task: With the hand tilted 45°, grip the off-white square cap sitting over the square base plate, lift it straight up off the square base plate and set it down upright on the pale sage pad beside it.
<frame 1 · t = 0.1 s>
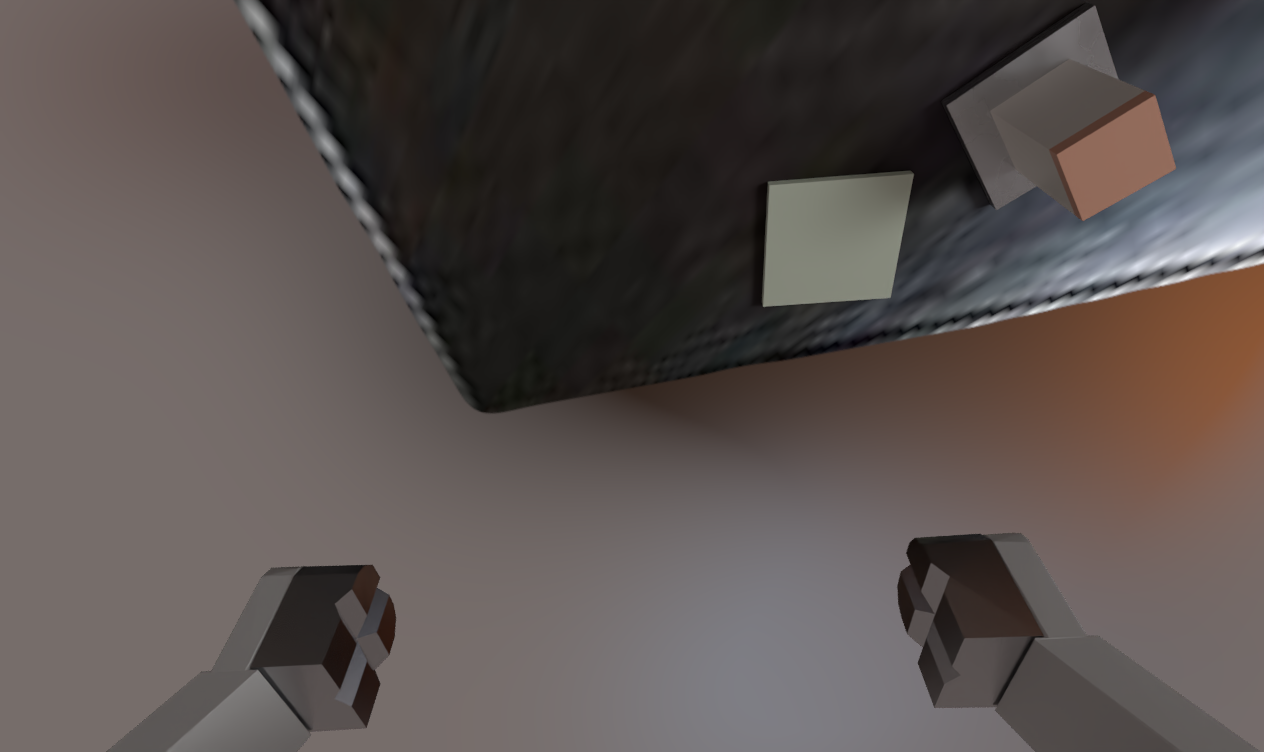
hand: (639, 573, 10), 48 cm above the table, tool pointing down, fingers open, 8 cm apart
square base plate: (1033, 112, 52), on the table
cap: (1041, 117, 51), point 1 cm above the table, touching square base plate
pad: (831, 240, 59), on the table
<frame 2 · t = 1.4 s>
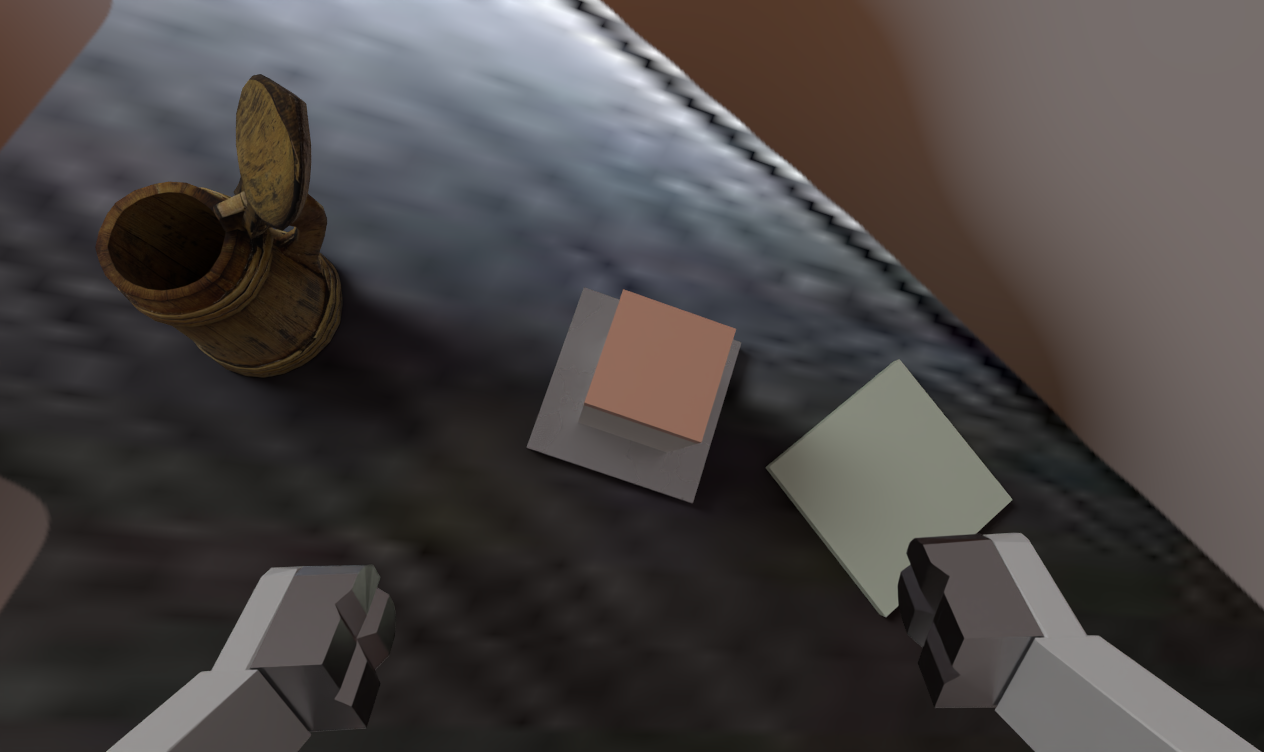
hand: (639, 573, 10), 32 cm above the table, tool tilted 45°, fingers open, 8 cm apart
square base plate: (635, 395, 43), on the table
cap: (637, 393, 42), point 1 cm above the table, touching square base plate
wooden mug: (306, 295, 42), on the table
pad: (886, 483, 44), on the table
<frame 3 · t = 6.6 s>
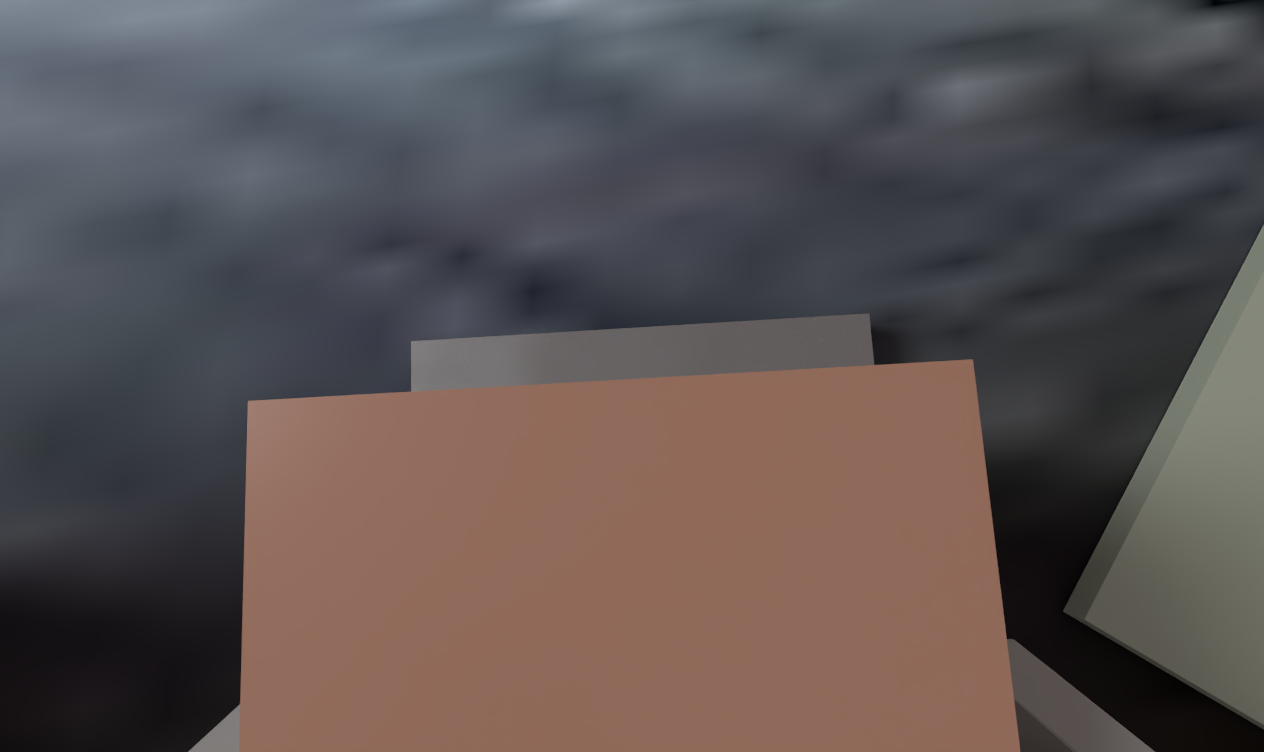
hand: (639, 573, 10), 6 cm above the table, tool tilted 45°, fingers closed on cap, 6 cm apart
square base plate: (650, 555, 16), on the table
cap: (649, 563, 15), point 1 cm above the table, touching gripper, square base plate
when the fingers open (7 cm above the table, at t = 16.3 s): cap drops 2 cm, resting on pad.
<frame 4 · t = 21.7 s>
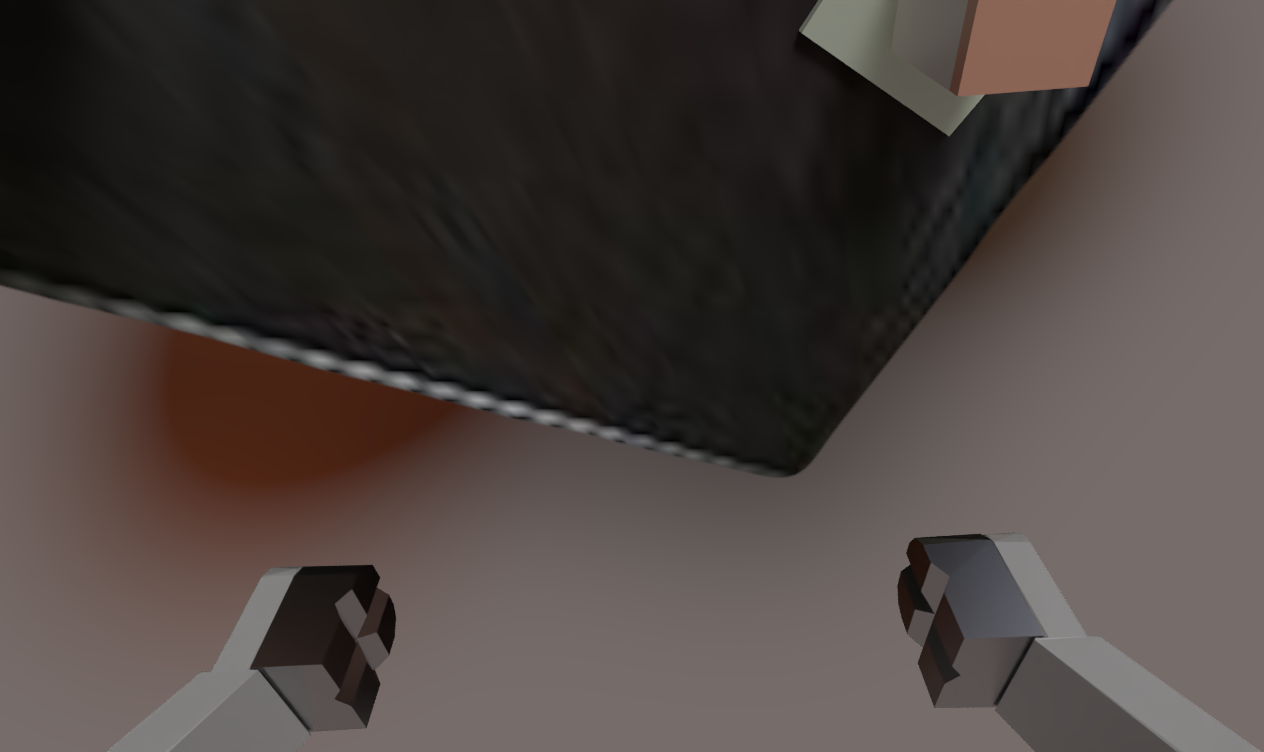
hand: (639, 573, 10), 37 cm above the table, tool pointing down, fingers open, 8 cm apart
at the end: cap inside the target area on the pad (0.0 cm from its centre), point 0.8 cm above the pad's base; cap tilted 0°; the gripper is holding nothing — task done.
